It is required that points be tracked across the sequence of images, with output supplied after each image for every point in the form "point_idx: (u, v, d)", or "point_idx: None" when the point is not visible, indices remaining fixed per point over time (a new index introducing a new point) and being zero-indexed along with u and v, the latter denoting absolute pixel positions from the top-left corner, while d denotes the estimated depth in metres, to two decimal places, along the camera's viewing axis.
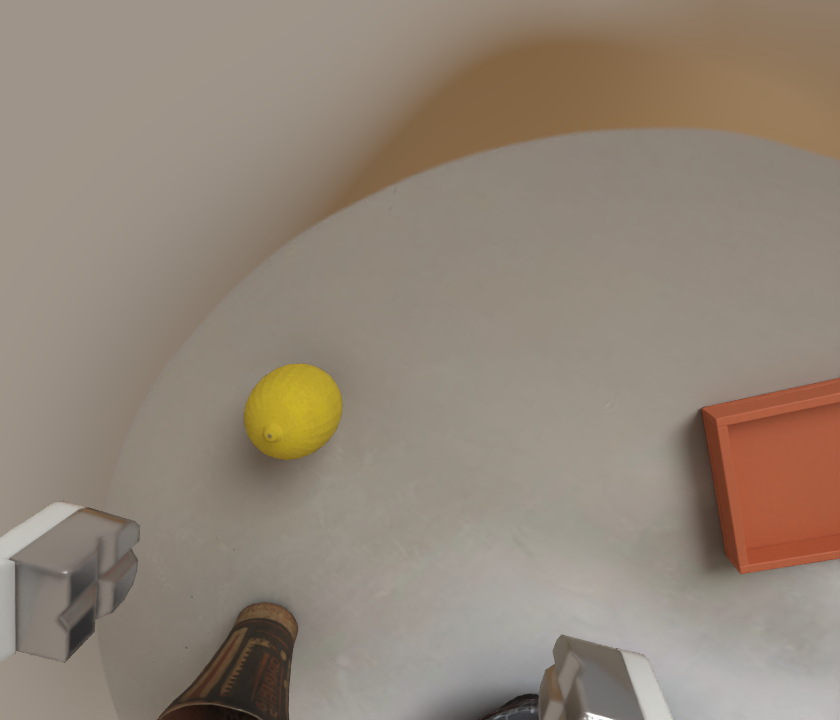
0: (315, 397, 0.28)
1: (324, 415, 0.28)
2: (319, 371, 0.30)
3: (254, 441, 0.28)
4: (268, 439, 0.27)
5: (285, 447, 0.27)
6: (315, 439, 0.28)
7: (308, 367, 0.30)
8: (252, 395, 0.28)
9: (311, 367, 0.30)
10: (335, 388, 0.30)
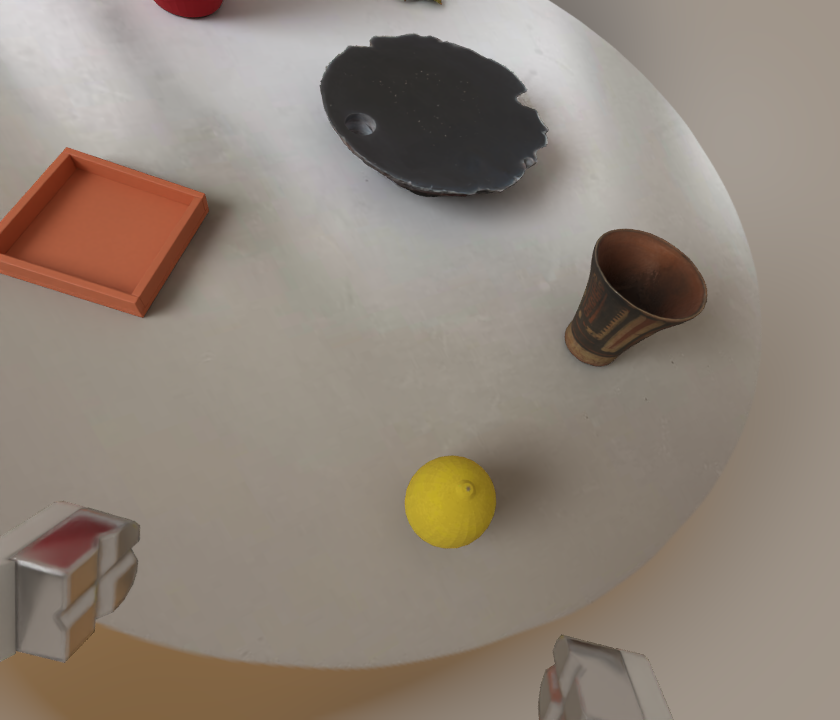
0: (417, 500, 0.29)
1: (419, 480, 0.30)
2: (409, 523, 0.31)
3: (489, 492, 0.29)
4: (471, 486, 0.28)
5: (463, 471, 0.29)
6: (437, 464, 0.30)
7: (416, 532, 0.30)
8: (470, 534, 0.29)
9: (414, 530, 0.31)
10: (405, 499, 0.31)
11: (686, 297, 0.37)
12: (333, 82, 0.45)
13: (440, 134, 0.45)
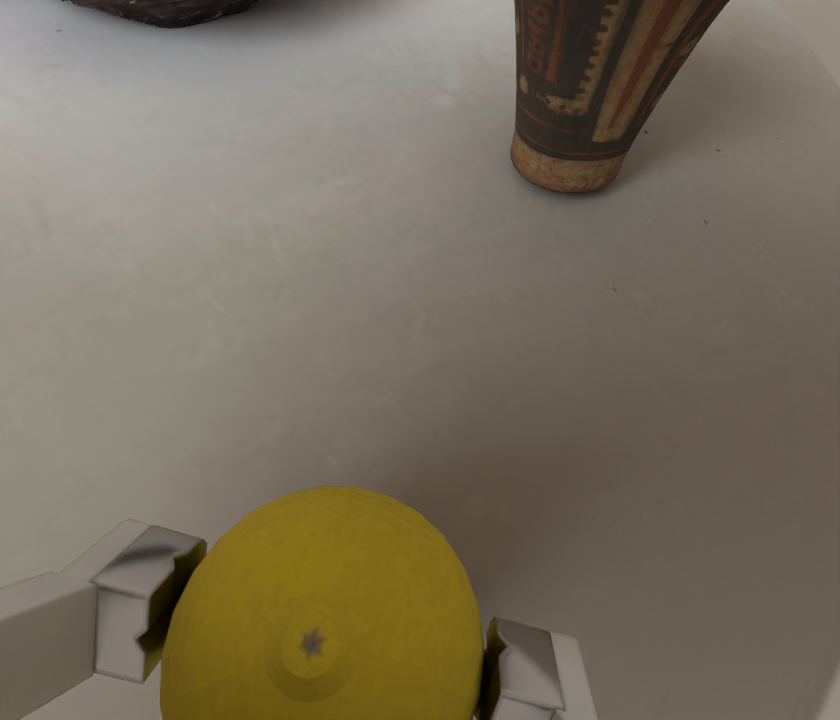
0: None
1: None
2: None
3: (427, 598, 0.07)
4: (326, 625, 0.06)
5: (294, 556, 0.07)
6: (210, 559, 0.08)
7: None
8: None
9: None
10: None
11: None
12: None
13: None
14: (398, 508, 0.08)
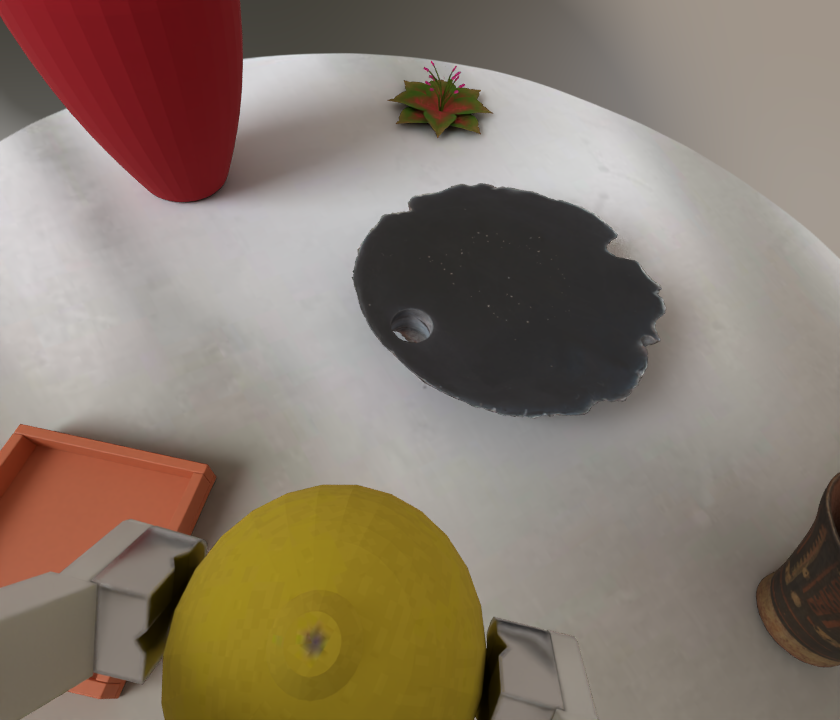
0: None
1: None
2: None
3: (429, 596, 0.07)
4: (329, 624, 0.06)
5: (296, 555, 0.07)
6: (211, 557, 0.08)
7: None
8: None
9: None
10: None
11: None
12: (369, 270, 0.34)
13: (520, 321, 0.33)
14: (400, 506, 0.08)
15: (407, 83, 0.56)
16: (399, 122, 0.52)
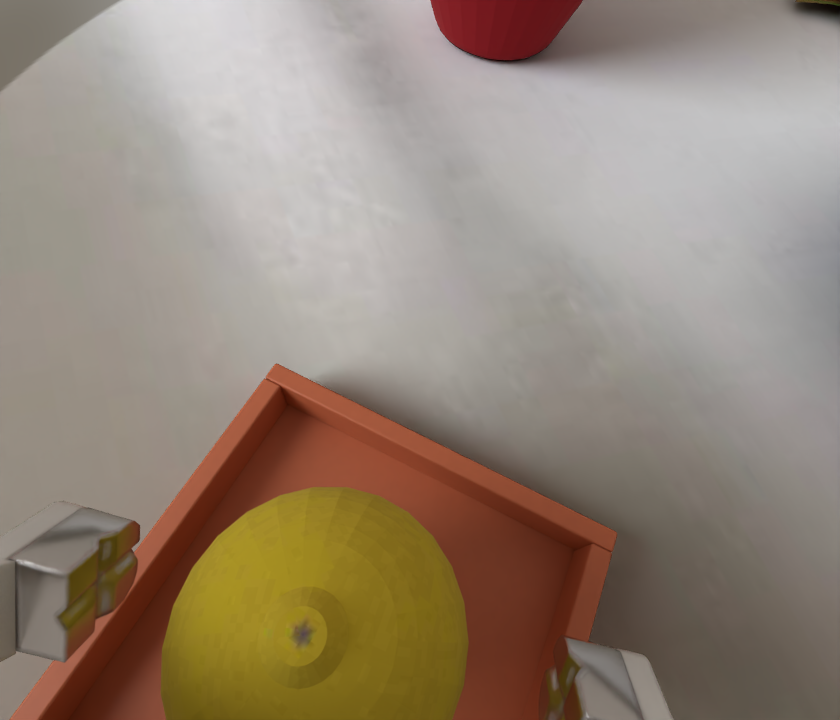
0: None
1: None
2: None
3: (412, 592, 0.07)
4: (315, 617, 0.06)
5: (287, 554, 0.07)
6: (208, 557, 0.08)
7: None
8: None
9: None
10: None
11: None
12: None
13: None
14: (387, 508, 0.09)
15: None
16: (800, 0, 0.33)
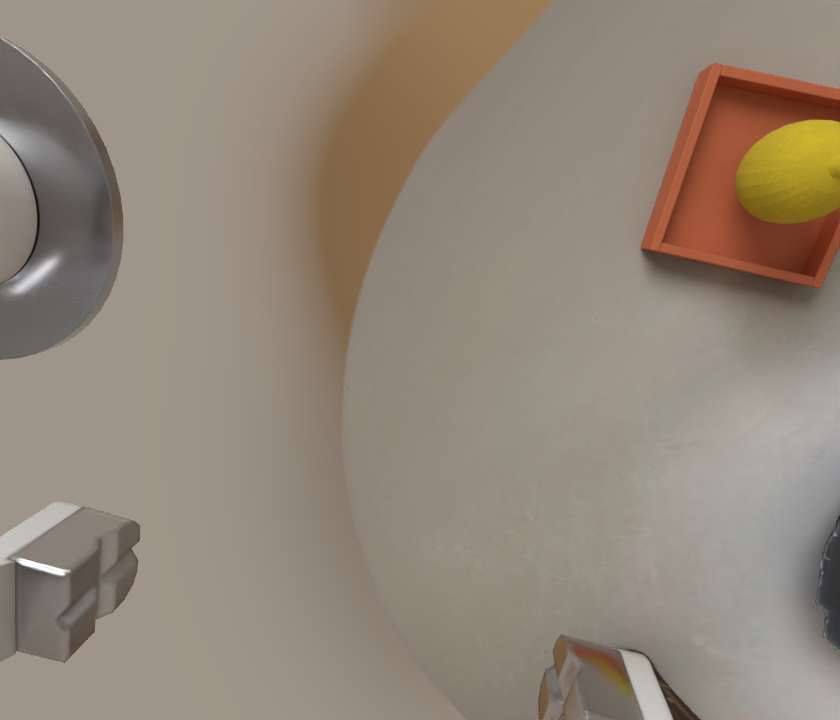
0: (791, 134, 0.26)
1: (814, 122, 0.26)
2: (749, 152, 0.29)
3: None
4: None
5: None
6: None
7: (744, 163, 0.29)
8: (784, 204, 0.27)
9: (743, 161, 0.29)
10: (771, 132, 0.28)
11: None
12: None
13: None
14: None
15: None
16: None
